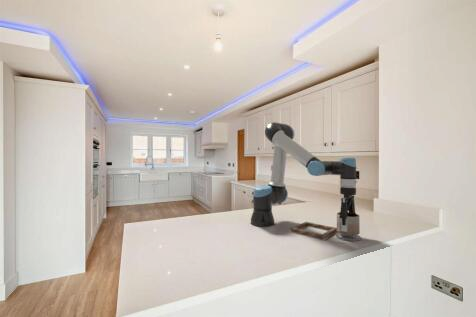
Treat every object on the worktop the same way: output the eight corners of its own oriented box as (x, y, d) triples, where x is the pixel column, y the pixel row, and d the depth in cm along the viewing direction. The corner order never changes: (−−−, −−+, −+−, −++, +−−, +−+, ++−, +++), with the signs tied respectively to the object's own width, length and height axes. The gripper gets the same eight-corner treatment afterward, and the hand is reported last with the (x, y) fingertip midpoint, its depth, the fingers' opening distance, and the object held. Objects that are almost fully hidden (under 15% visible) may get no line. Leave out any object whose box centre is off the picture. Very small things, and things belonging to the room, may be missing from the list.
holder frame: (290, 231, 125) (290, 228, 125) (305, 224, 139) (305, 221, 139) (324, 239, 112) (324, 236, 112) (337, 231, 126) (337, 228, 126)
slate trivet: (332, 237, 116) (332, 235, 116) (339, 231, 125) (339, 230, 125) (357, 243, 108) (357, 241, 108) (363, 237, 117) (363, 235, 117)
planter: (335, 233, 114) (335, 215, 114) (337, 228, 124) (337, 211, 124) (359, 237, 109) (359, 218, 109) (359, 231, 119) (359, 213, 119)
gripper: (348, 189, 105) (348, 235, 105) (361, 185, 123) (361, 225, 122) (332, 188, 110) (332, 232, 110) (347, 184, 128) (347, 222, 127)
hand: (347, 228), depth 116 cm, fingers closed on planter, 11 cm apart
